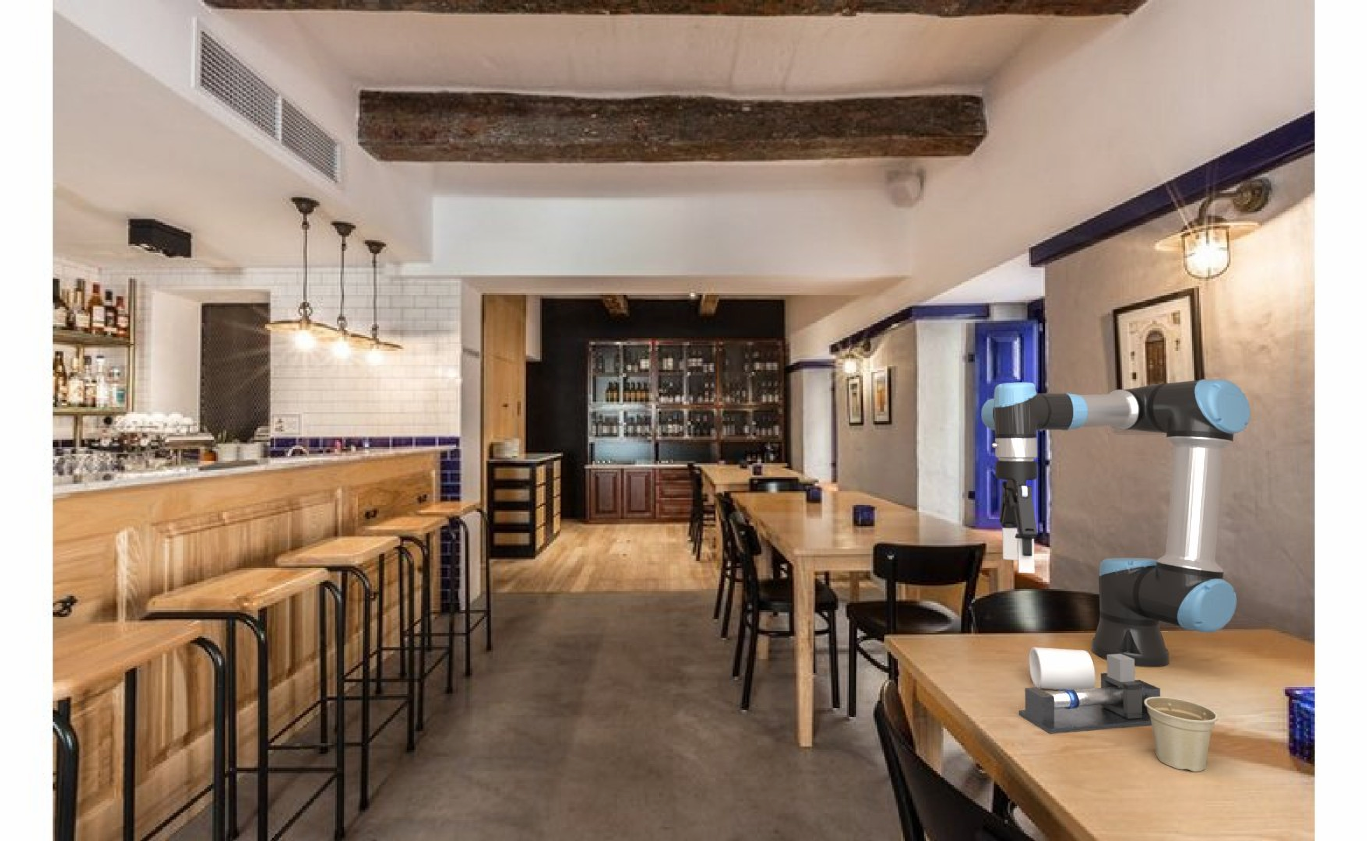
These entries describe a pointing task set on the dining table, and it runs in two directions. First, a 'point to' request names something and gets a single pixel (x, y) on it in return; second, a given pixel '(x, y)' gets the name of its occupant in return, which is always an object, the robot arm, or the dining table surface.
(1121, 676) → the collar
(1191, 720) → the flower pot
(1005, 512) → the robot arm
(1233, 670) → the dining table surface
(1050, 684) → the mug
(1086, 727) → the pipe rig
